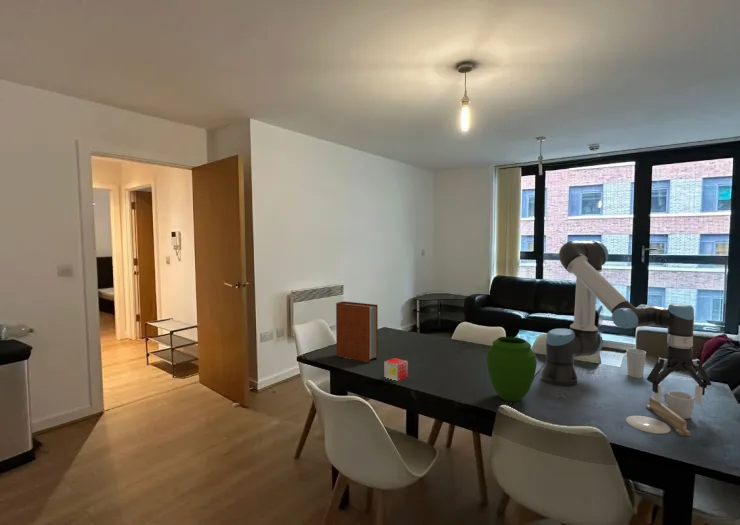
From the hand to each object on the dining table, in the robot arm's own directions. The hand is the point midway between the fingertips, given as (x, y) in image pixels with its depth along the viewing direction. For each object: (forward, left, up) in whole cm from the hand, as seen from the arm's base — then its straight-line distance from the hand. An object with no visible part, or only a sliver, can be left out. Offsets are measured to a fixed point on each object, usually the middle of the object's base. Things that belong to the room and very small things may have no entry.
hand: (677, 402), depth 150 cm
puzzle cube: (-108, +23, -5) cm, 110 cm away
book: (-133, +51, -5) cm, 142 cm away
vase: (-59, +6, -5) cm, 59 cm away
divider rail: (-7, -6, -5) cm, 10 cm away
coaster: (-15, -11, -5) cm, 19 cm away
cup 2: (0, 0, -5) cm, 5 cm away
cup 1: (+5, +44, -5) cm, 45 cm away
